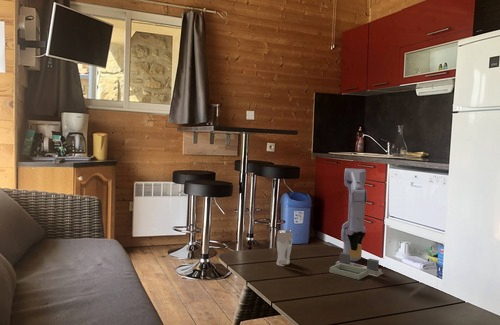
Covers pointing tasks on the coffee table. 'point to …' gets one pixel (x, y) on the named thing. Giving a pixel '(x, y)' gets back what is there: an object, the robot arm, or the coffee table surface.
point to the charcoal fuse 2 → (372, 264)
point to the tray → (336, 270)
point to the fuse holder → (371, 272)
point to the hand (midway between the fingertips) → (355, 249)
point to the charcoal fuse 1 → (344, 258)
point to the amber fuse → (356, 253)
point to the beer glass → (284, 246)
